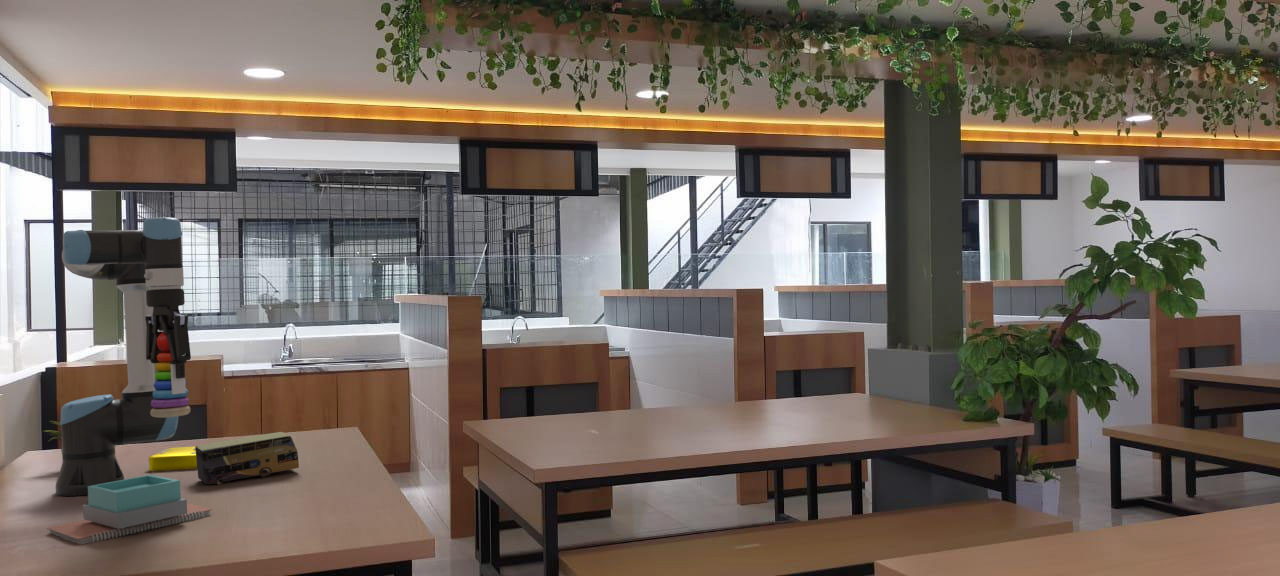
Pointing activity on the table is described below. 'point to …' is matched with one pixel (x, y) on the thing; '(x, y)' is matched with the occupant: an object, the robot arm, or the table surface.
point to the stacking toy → (166, 386)
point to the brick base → (135, 514)
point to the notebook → (95, 531)
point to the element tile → (173, 459)
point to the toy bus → (246, 457)
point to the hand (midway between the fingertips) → (169, 392)
